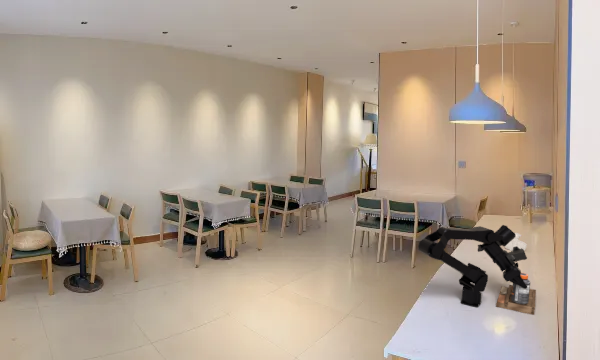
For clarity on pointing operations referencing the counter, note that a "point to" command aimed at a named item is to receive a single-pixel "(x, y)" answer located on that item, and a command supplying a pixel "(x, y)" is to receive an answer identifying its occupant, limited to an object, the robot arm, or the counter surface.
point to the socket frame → (507, 303)
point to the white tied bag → (516, 243)
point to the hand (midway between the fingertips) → (525, 285)
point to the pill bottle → (521, 291)
